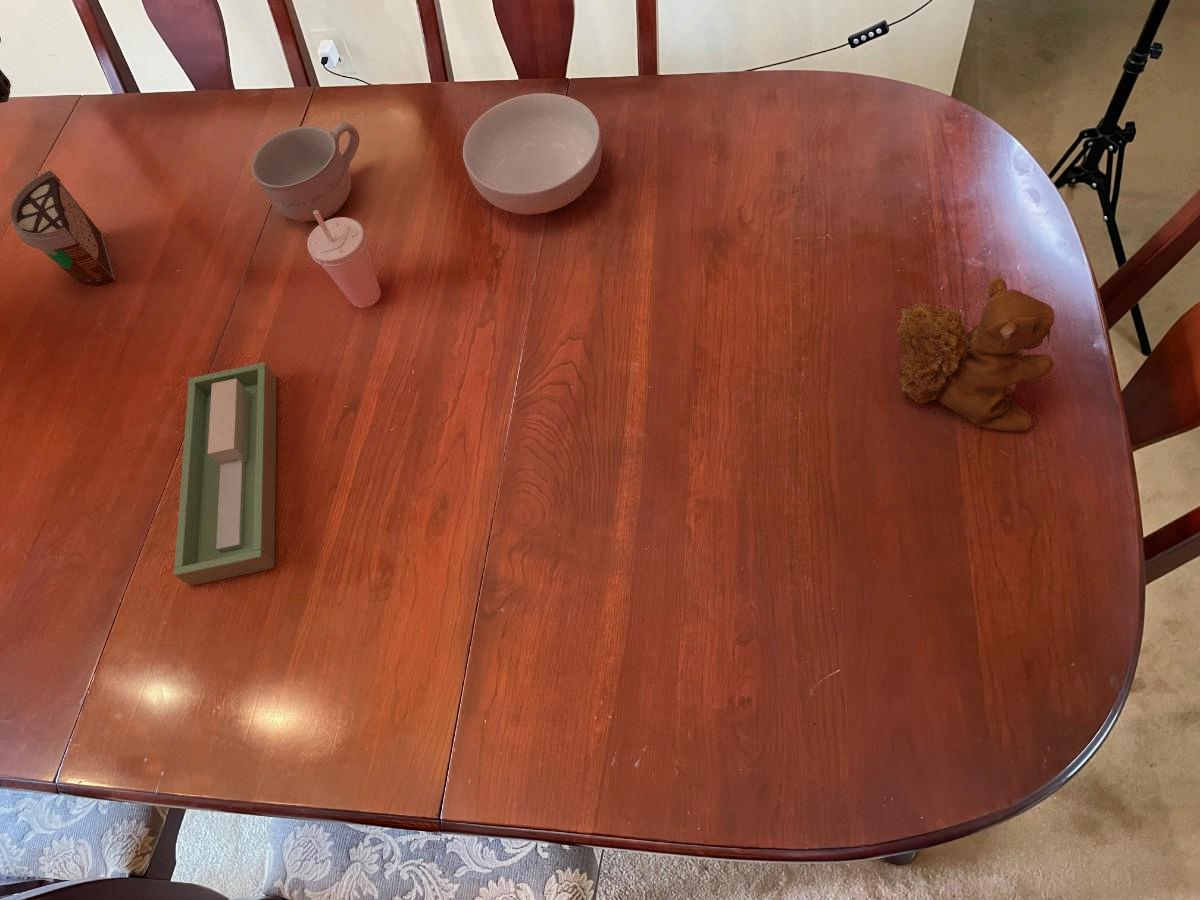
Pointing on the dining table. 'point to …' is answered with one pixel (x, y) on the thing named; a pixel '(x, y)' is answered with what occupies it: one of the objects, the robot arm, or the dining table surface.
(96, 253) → the food container
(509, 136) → the cereal bowl
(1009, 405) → the stuffed squirrel
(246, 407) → the grey block with handle
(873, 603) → the dining table surface
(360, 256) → the smoothie
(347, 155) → the teacup
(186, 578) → the tray
